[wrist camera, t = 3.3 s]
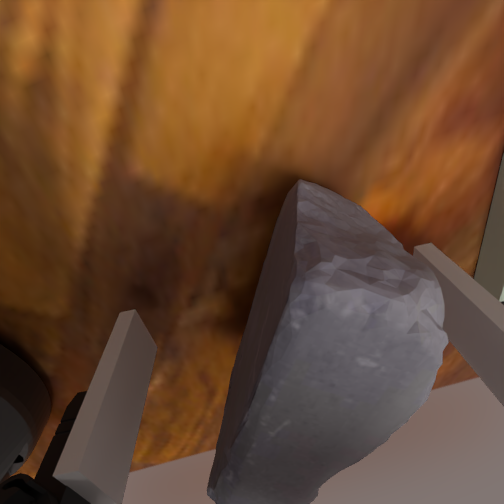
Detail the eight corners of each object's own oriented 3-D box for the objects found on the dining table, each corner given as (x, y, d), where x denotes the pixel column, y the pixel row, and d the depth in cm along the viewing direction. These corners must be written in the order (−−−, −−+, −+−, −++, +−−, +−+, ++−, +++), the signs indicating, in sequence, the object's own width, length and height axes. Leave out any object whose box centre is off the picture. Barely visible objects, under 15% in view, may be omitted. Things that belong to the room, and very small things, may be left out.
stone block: (259, 147, 13) (326, 297, 5) (356, 176, 14) (550, 339, 6) (203, 334, 19) (188, 551, 11) (275, 344, 20) (313, 549, 12)
